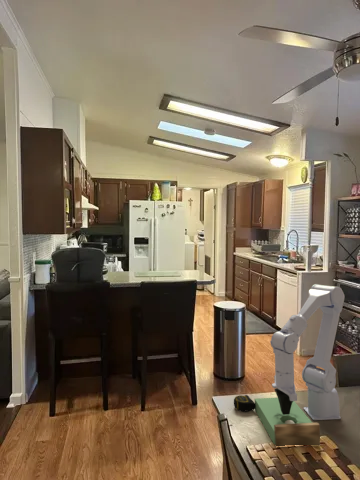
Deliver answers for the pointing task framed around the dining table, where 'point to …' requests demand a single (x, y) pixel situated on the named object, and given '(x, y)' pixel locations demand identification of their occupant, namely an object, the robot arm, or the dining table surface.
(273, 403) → the green
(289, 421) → the ball
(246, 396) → the tape measure
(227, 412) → the dining table surface
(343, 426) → the dining table surface
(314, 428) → the end rail
